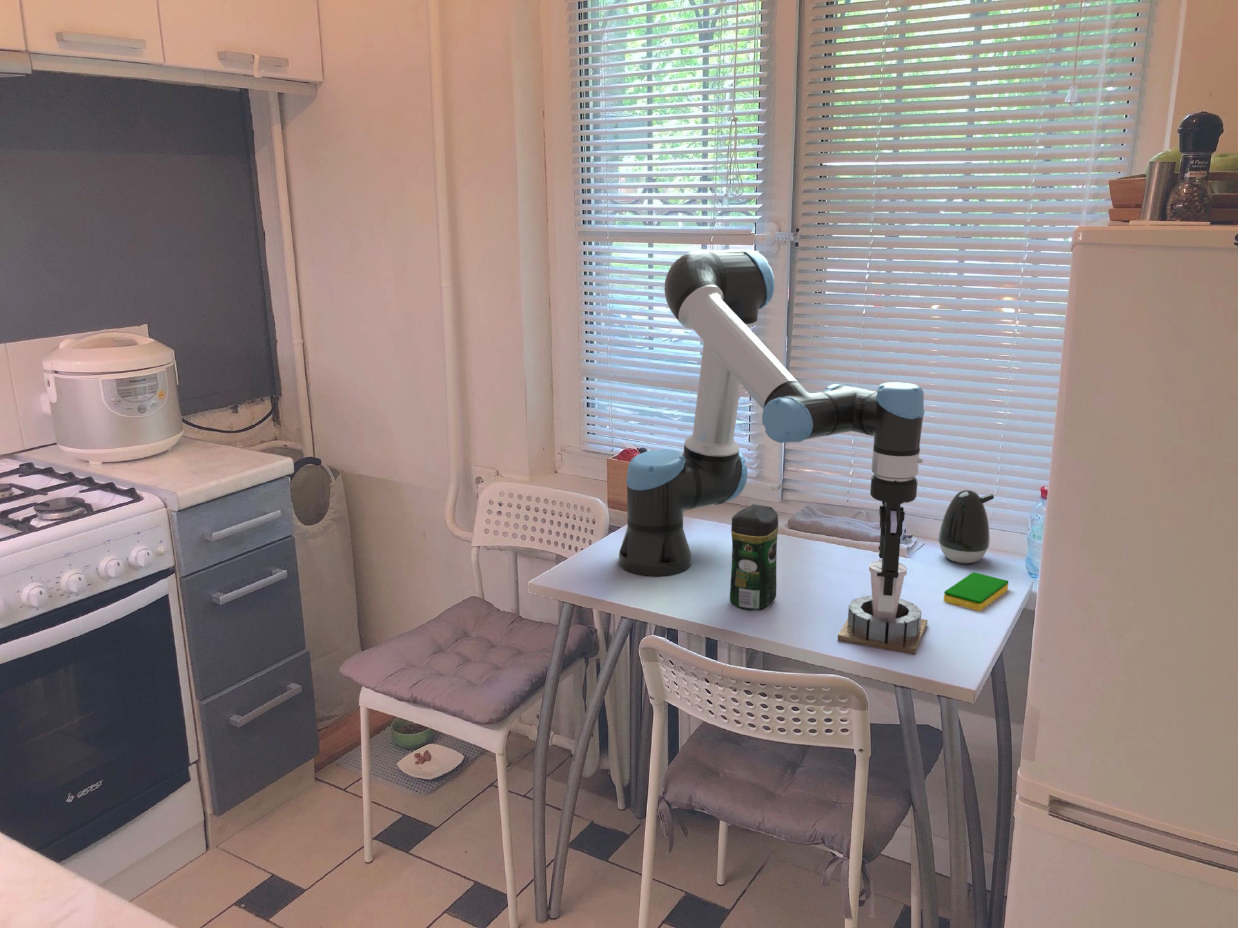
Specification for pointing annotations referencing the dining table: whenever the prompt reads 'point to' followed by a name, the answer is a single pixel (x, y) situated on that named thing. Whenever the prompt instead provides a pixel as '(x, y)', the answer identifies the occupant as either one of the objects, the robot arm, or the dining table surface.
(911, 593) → the dining table surface
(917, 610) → the stone fire pit ring
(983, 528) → the pump dispenser
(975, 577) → the dish sponge
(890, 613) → the smoothie
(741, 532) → the coffee jar
